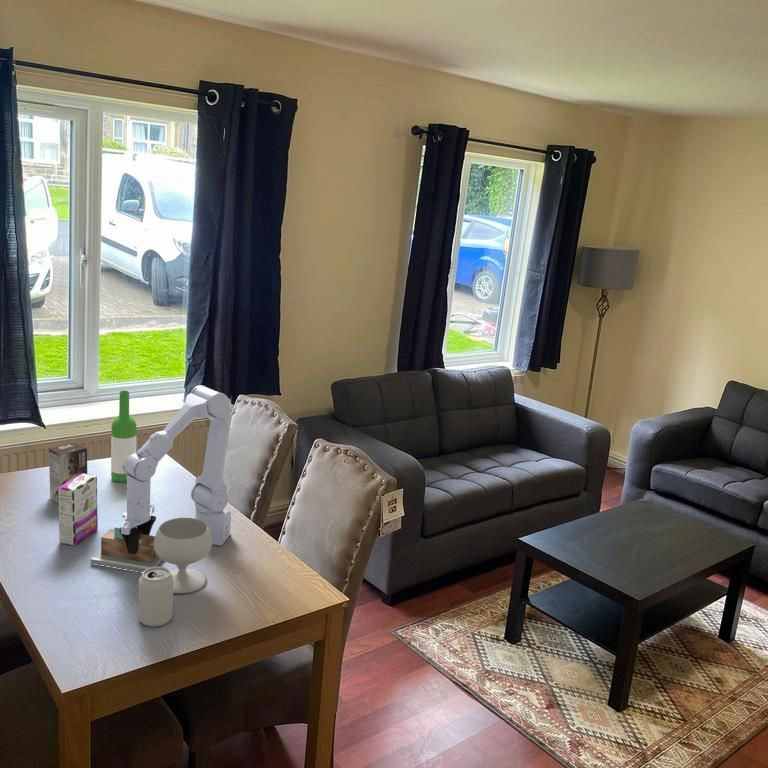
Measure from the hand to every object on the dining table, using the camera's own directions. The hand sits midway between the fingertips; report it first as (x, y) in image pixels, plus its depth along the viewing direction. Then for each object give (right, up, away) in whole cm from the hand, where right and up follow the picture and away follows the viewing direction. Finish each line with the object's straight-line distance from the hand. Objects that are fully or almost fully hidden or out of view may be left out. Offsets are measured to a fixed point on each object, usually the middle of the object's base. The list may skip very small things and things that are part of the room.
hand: (137, 548), depth 192 cm
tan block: (-2, -2, +1) cm, 3 cm away
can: (+12, -11, -23) cm, 29 cm away
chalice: (+13, -7, -7) cm, 17 cm away
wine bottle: (-22, +11, +51) cm, 57 cm away
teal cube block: (-3, +3, 0) cm, 5 cm away
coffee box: (-32, +8, +34) cm, 47 cm away
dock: (-2, -3, +1) cm, 4 cm away
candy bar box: (-20, +1, +11) cm, 23 cm away
